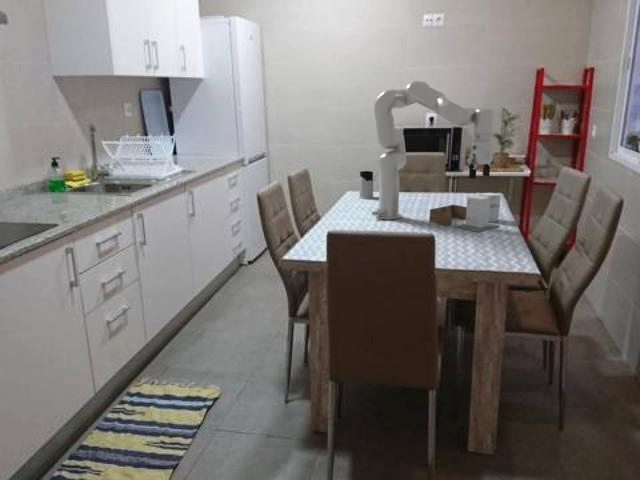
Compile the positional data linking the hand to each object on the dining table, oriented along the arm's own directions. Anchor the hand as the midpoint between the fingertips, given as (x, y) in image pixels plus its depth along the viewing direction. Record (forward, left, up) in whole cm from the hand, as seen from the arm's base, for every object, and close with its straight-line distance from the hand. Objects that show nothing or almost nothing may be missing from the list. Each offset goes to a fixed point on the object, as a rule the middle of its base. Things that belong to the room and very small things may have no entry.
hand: (479, 177), depth 232 cm
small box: (0, -1, -22) cm, 22 cm away
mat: (0, -1, -22) cm, 22 cm away
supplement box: (+15, +4, -23) cm, 28 cm away
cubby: (0, +13, -22) cm, 26 cm away
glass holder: (+13, +83, -23) cm, 87 cm away
